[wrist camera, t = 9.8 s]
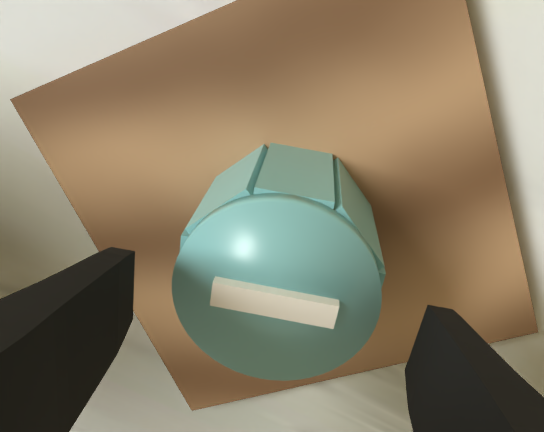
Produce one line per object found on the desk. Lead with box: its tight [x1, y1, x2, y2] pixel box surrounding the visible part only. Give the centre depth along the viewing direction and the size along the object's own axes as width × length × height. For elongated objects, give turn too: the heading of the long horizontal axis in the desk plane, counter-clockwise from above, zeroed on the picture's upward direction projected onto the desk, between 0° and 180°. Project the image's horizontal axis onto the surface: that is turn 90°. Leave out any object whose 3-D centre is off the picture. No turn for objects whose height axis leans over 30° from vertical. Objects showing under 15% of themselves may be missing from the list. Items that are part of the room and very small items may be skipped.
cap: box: [172, 143, 386, 381], centre depth 14 cm, size 5×5×5 cm
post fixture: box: [10, 0, 538, 411], centre depth 16 cm, size 14×14×4 cm
